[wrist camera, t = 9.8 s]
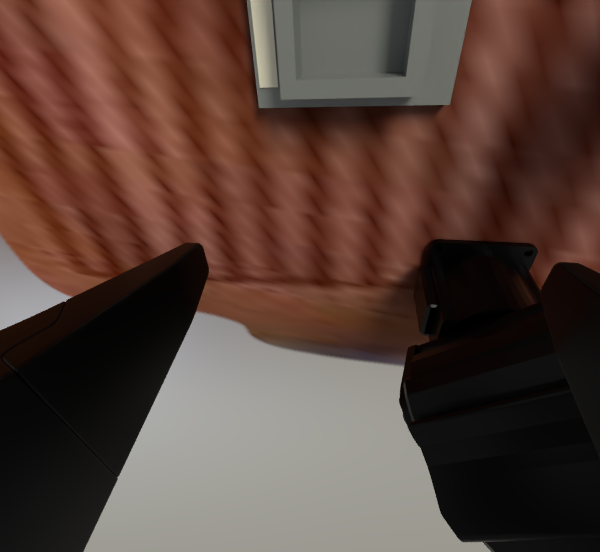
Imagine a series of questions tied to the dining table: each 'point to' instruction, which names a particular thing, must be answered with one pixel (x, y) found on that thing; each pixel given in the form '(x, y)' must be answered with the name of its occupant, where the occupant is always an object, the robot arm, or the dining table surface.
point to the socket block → (356, 51)
